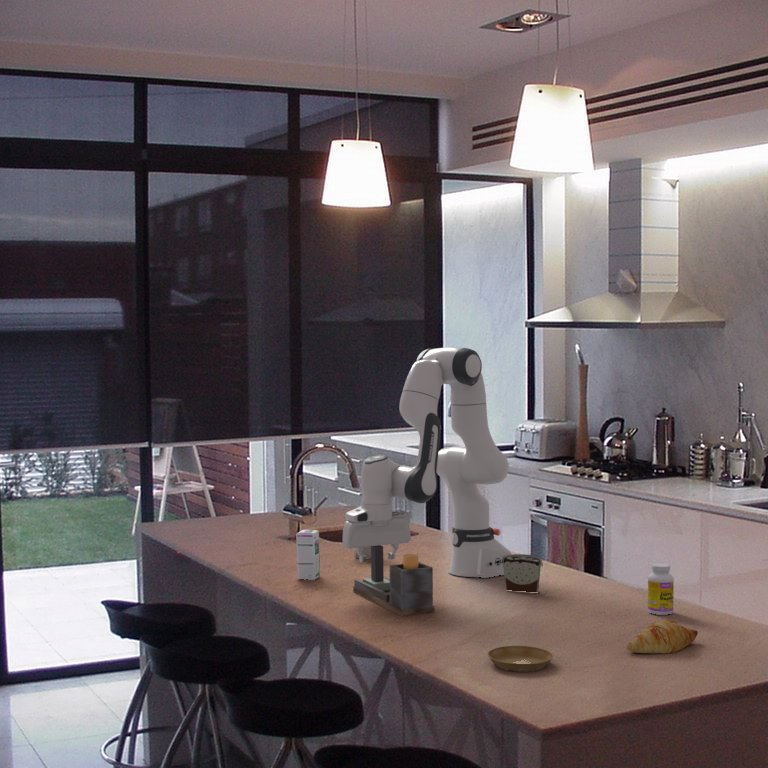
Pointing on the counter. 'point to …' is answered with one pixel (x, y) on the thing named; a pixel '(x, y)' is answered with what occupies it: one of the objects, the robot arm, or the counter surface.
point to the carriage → (377, 570)
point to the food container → (522, 572)
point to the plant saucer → (520, 657)
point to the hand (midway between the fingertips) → (377, 560)
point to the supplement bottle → (660, 590)
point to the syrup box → (308, 554)
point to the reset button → (410, 561)
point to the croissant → (662, 638)
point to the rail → (403, 590)
